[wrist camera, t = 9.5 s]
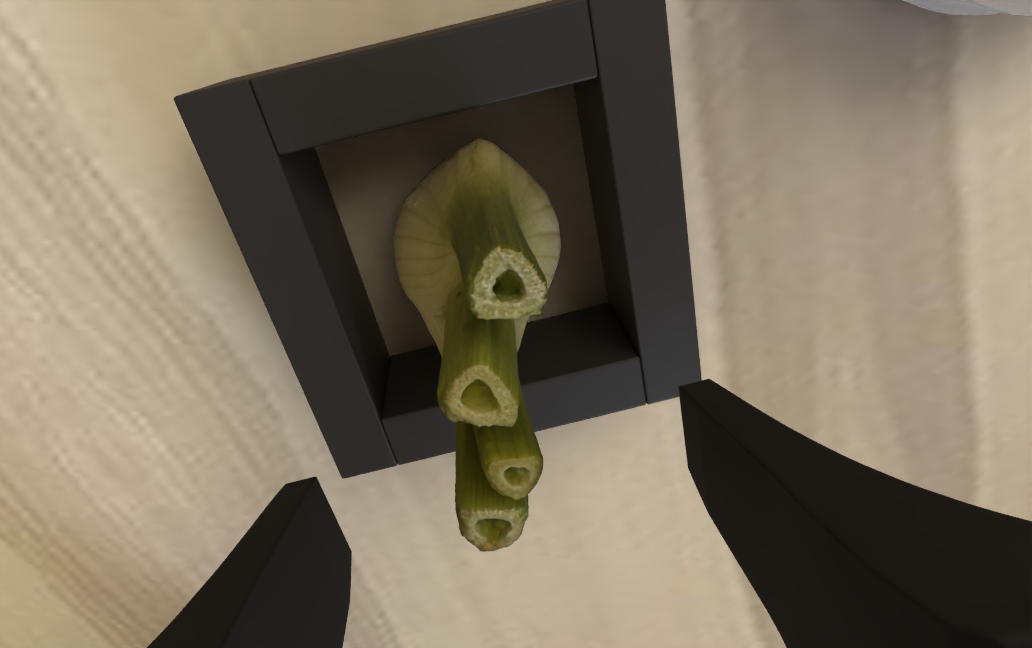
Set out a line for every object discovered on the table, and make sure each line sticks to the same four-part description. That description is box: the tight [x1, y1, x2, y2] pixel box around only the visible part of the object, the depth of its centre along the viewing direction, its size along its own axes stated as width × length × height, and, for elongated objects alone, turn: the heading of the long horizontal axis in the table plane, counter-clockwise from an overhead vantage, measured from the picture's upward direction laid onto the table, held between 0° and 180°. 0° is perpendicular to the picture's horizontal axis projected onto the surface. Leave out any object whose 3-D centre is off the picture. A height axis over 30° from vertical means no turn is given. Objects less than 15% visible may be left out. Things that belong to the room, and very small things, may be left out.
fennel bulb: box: [393, 138, 561, 551], centre depth 15 cm, size 6×5×12 cm
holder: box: [174, 0, 702, 478], centre depth 19 cm, size 12×12×4 cm
